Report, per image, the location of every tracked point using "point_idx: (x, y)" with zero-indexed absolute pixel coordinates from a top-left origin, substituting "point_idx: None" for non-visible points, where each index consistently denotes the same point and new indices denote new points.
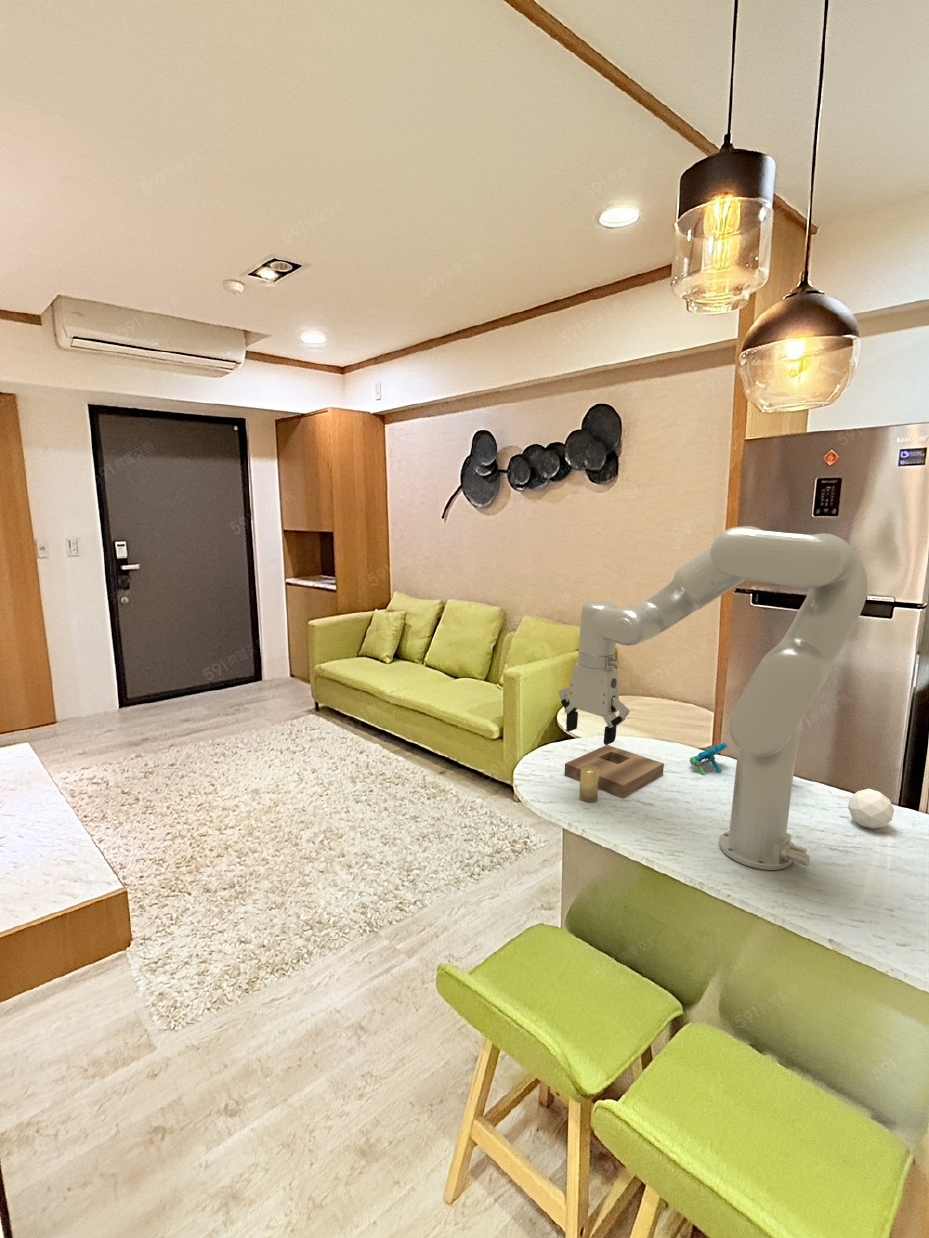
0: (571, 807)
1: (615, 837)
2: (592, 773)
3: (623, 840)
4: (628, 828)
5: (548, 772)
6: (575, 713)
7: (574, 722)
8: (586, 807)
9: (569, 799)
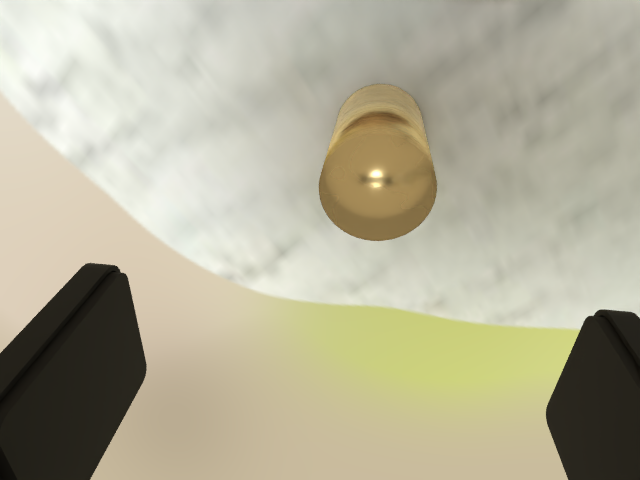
0: None
1: None
2: (414, 224)
3: None
4: (627, 243)
5: (61, 4)
6: (11, 472)
7: (93, 372)
8: None
9: None
